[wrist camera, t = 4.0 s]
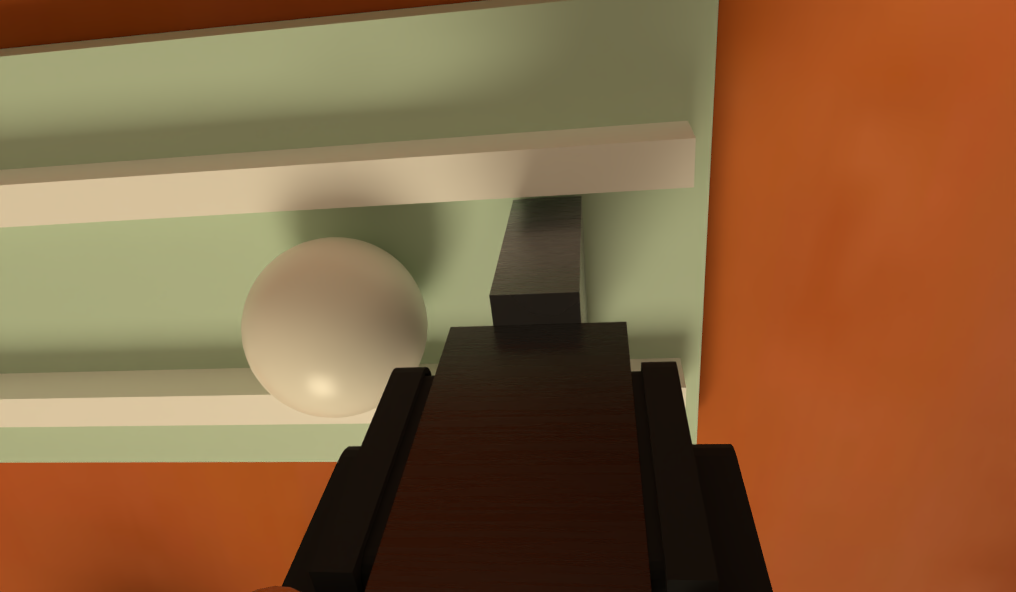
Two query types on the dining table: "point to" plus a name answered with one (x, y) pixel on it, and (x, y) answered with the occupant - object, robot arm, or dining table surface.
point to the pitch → (328, 201)
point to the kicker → (525, 438)
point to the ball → (332, 326)
